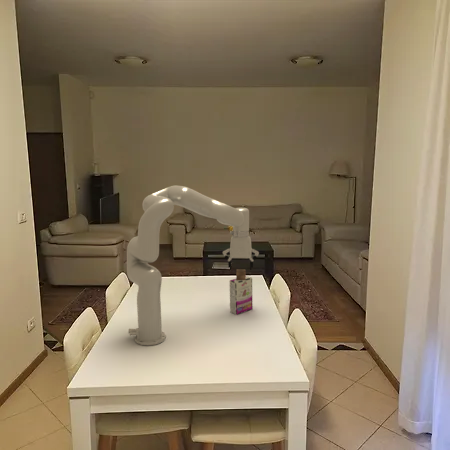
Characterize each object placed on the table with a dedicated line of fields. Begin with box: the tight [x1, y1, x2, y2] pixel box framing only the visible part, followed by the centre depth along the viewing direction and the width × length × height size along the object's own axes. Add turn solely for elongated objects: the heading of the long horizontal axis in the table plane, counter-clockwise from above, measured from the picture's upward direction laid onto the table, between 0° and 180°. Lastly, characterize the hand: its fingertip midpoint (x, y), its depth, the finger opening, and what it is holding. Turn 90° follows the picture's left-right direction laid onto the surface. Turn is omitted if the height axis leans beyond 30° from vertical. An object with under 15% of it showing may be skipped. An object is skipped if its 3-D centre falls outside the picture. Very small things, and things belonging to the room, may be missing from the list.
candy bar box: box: [229, 275, 253, 316], centre depth 196 cm, size 11×5×16 cm, turn 131°
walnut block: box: [235, 268, 247, 280], centre depth 194 cm, size 4×4×4 cm
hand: (240, 268), depth 194 cm, fingers open, 9 cm apart
